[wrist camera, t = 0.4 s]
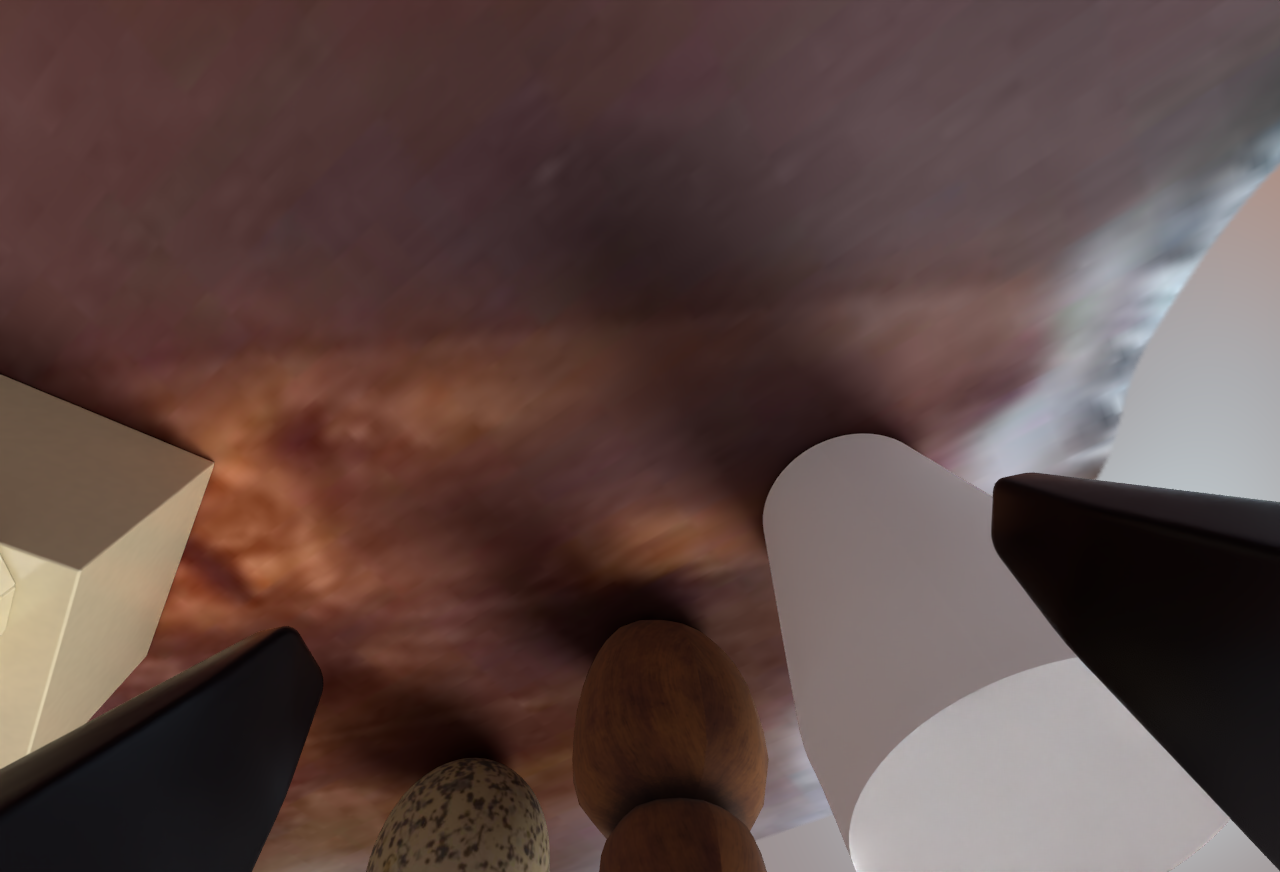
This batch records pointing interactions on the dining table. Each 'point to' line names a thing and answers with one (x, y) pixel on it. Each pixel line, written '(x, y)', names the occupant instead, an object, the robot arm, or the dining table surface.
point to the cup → (953, 686)
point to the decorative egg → (465, 823)
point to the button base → (81, 558)
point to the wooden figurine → (669, 753)
